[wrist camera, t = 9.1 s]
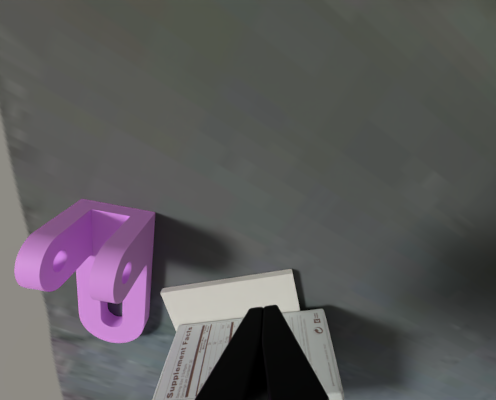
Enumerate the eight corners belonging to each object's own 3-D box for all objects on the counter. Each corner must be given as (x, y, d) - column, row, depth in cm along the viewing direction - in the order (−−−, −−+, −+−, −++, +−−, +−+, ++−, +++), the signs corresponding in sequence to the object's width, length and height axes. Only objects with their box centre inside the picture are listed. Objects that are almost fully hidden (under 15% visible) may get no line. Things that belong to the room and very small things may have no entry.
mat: (291, 268, 24) (292, 273, 23) (315, 386, 29) (316, 392, 28) (162, 288, 25) (160, 293, 25) (207, 396, 30) (206, 402, 30)
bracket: (82, 198, 22) (10, 248, 16) (155, 211, 23) (113, 266, 16) (89, 324, 28) (36, 400, 21) (148, 334, 28) (113, 413, 21)
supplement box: (355, 466, 20) (179, 475, 22) (333, 366, 27) (200, 379, 29) (345, 395, 17) (144, 412, 19) (323, 304, 24) (176, 323, 26)
